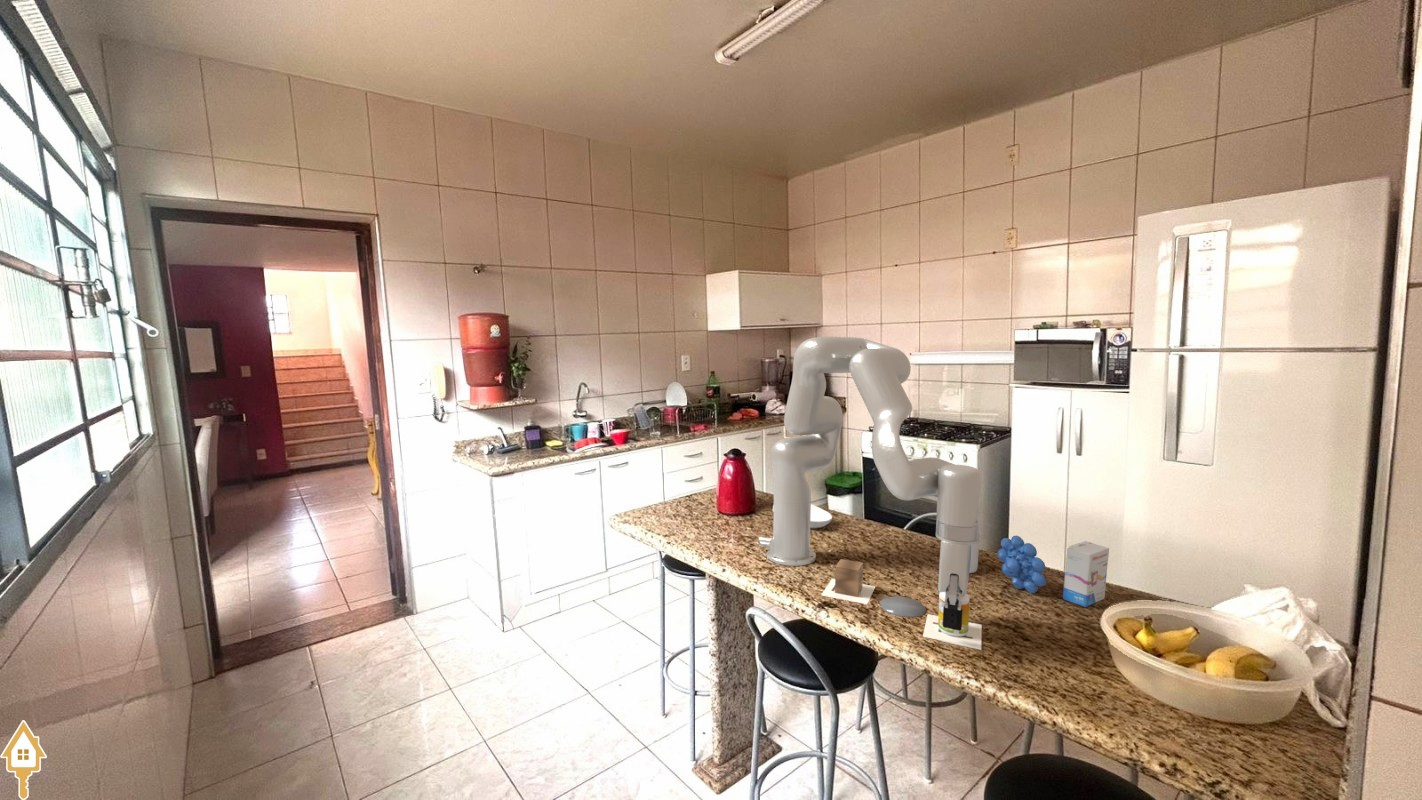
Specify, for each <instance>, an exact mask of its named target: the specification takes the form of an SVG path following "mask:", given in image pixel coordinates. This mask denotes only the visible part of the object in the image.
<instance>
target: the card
mask: <svg viewBox="0 0 1422 800" xmlns="http://www.w3.org/2000/svg"><path fill="white" fill-rule="evenodd" d="M938 616H939V615H934V614H929V613H927V616H926V620H925V625H924V628H923V634H922V637H924V638H927V639H933V640H938V641H939V642H942V643H947V644H951V645H956V646H961V647H964V648H969V649H974V650H980V651H982V632H983V629H982V628H983V627H982V625H983V624H979V623H976V622H975V623H974V622H971V621H969V626H968V633H967V634H966V635H964V636H951V635H947V634H945V633H943V632H942V631H941V630H940V629H939V628H938Z"/></svg>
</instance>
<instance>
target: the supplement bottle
mask: <svg viewBox="0 0 1422 800" xmlns="http://www.w3.org/2000/svg"><path fill="white" fill-rule="evenodd" d="M948 590H950V589H949V586H948ZM957 592H960V591H959V590H957ZM945 595H946V590H945V592H941V593H940V592H939V596H938V615H937V616H938V628H939V629H940V630H941V631H942V632H943V633H945V634H947V635H951V636H964V635H966V634H967V633H968V626H969V622H970V621H969V620H970V601H971V600H970V596H969V594H968V593H967V592H966V595H965V596H963V597H962V599H961V609H962V629H961V630H960V631H959V630H954V629H949V628H944V627H943V607H944V606H945ZM956 599H958V597H957V598H956Z"/></svg>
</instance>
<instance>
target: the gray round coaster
mask: <svg viewBox="0 0 1422 800" xmlns="http://www.w3.org/2000/svg"><path fill="white" fill-rule="evenodd" d="M880 607H881V608H882V609H883V610H884V611H885V612H887V613H889V614H891V615H894V616H897V617H900V618H901V617H902V618H918V617H922V616H923V615H925V613H926V611H927V610H926V606H925V605H924V604H923V602H920V601H919V600H916V599H913V598H911V597H910V598H909V597H906V596H901V595H900V596H896V595H895V596H894V595H893V596H887V597H884V598H882V599H881V600H880Z"/></svg>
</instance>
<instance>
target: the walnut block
mask: <svg viewBox="0 0 1422 800" xmlns="http://www.w3.org/2000/svg"><path fill="white" fill-rule="evenodd" d="M863 573H864V563H863V562H862V561H861V562H860V561H856V560H849V559H842V558H840V560H839V561H838V562H837V564H836V566H835V574H834V575H835V578H834V579H835V593H839V594H844V595H849V596H854V597H858V596H859V594H860V592H861V590H862V584H863V575H864V574H863Z"/></svg>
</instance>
